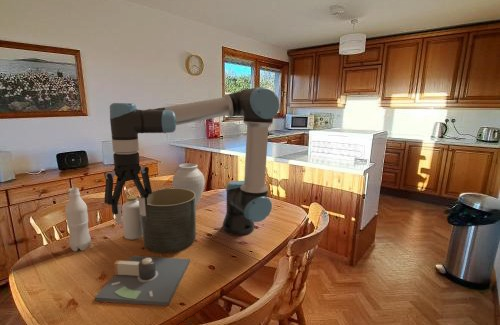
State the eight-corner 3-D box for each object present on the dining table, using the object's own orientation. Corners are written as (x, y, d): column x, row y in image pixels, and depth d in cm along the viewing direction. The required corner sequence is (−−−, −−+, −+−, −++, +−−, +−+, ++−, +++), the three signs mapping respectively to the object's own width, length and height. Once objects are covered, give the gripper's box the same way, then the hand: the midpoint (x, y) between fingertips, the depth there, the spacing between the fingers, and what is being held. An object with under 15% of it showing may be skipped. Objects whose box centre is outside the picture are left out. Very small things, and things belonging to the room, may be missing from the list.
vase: (176, 201, 157) (174, 161, 152) (205, 201, 159) (205, 161, 154) (170, 213, 139) (168, 168, 134) (203, 212, 141) (203, 168, 136)
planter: (155, 227, 123) (153, 187, 119) (201, 229, 122) (200, 188, 118) (133, 253, 101) (129, 204, 97) (189, 255, 101) (187, 206, 96)
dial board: (190, 261, 96) (189, 258, 96) (168, 305, 75) (167, 301, 75) (132, 258, 98) (132, 255, 97) (95, 300, 76) (94, 296, 76)
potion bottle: (137, 241, 110) (134, 201, 106) (120, 239, 111) (116, 199, 108) (148, 232, 118) (146, 195, 114) (132, 230, 119) (129, 193, 116)
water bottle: (95, 245, 106) (89, 187, 101) (79, 254, 99) (71, 192, 94) (82, 242, 108) (76, 185, 103) (65, 250, 102) (57, 190, 96)
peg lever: (158, 270, 88) (157, 256, 87) (151, 280, 83) (151, 265, 82) (120, 268, 89) (119, 254, 88) (112, 277, 84) (110, 262, 83)
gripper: (149, 147, 93) (152, 207, 98) (86, 154, 77) (93, 225, 82) (161, 150, 88) (164, 212, 93) (96, 157, 73) (104, 232, 77)
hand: (131, 218), depth 87 cm, fingers open, 8 cm apart
